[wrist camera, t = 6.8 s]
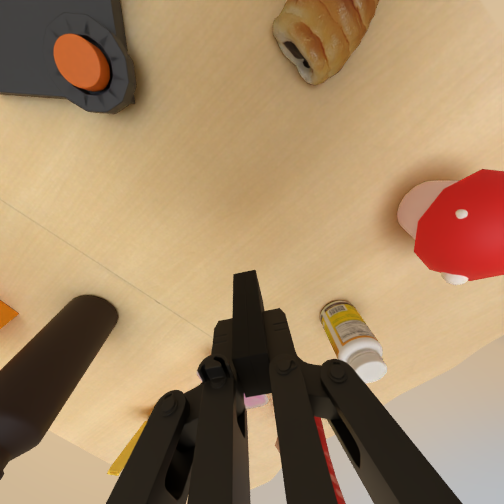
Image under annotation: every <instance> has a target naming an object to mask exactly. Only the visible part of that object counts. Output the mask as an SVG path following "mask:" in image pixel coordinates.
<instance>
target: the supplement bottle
mask: <svg viewBox="0 0 504 504" xmlns="http://www.w3.org/2000/svg"><path fill="white" fill-rule="evenodd" d="M320 320H321V323H322V325H323V328H324V330H325V332H326V334H327V336H328V338H329V341H330V343H331V345H332V347H333V349H334V351H335V354H336V356H337V358H338V359H339V360H342V361H344V362H347V363H348V364H349V365H350V366H351V367H352V368H353V369H354V370H355V372H356V373H357V374H358V375H359V377H360V378H361V379H362V380H363V381H364V383H372V382H375V381H377V380H379V379H381V378H382V377H383V376H384V375H385V374H386V372H387V366H386V364H385V363H384V361H383V359H382V354H383V350H382V347H381V345H380V343H379V342H378V340H377V339H376V337H375V336H374V335H373V333H372V332H371V330H370V329H369V327H368V326H367V325H366V323H365V322H364V320H363V319H362V317H361V316H360V314H359V313H358V312H357V310H356V309H355V307H354V306H353V305H352V304H351V303H349V302H346V301H335V302H332V303H330V304H328V305H327V306H326V307H325V308H324V309H323V310H322V312H321V315H320Z"/></svg>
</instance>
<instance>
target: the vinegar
mask: <svg viewBox="0 0 504 504" xmlns="http://www.w3.org/2000/svg"><path fill="white" fill-rule="evenodd" d="M117 319H118V315H117V312H116V310H115V309H114V308H113V306H112V305H111V304H109V303H108V302H107V301H105V300H103V299H101V298H98V297H94V296H80V297H77V298H74V299H73V300H72V301H70V302H69V303H68V304H67V305H66V306H65V307H64V308H63V309H62V310H61V311H60V312H59V313H58V314H57V315H56V316H55V317H54V318H53V319H52V320H51V321H50V322H49V323H48V324H47V325H46V326H45V327H44V328H43V329H42V330H41V331H40V332H39V333H38V334H37V335H36V336H35V337H34V338H33V339H32V340H31V341H30V342H29V343H28V344H27V345H26V346H25V347H24V348H23V349H22V350H21V351H19V352H18V353H17V354H16V355H15V356H14V357H13V358H12V359H11V360H10V361H9V362H8V363H7V364H6V365H5V366H4V367H3V368H2V369H1V370H0V480H1V478H2V477H3V475H4V472H3V469H4V468H5V466H6V465H7V464H8V462H9V461H10V460H12V459H14V458H16V457H18V456H20V455H21V454H23V453H25V452H27V451H29V450H30V449H32V448H33V447H35V446H37V445H38V444H39V443H40V441H41V440H42V438H43V437H44V435H45V434H46V432H47V431H48V429H49V428H50V426H51V424H52V423H53V421H54V420H55V418H56V417H57V415H58V414H59V412H60V411H61V409H62V407H63V406H64V404H65V403H66V401H67V400H68V398H69V397H70V395H71V393H72V392H73V390H74V389H75V387H76V386H77V384H78V383H79V381H80V379H81V378H82V376H83V375H84V373H85V372H86V370H87V369H88V367H89V365H90V364H91V362H92V361H93V359H94V358H95V356H96V355H97V353H98V352H99V350H100V348H101V347H102V345H103V344H104V342H105V341H106V339H107V338H108V336H109V334H110V333H111V331H112V330H113V328H114V327H115V325H116V323H117Z"/></svg>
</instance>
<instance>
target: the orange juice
mask: <svg viewBox="0 0 504 504" xmlns="http://www.w3.org/2000/svg"><path fill="white" fill-rule="evenodd" d="M18 314H19V313H17V312H16V311H14V310H13V309H12V308H10V307H9V306H7V305H6V304H5V303H3V302H2V301H1V300H0V329H1V328H2V327H3V326H5V325H6V324H7V323H8V322H9V321H11V320H12V319H13V318H14V317H16V316H17V315H18Z"/></svg>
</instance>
